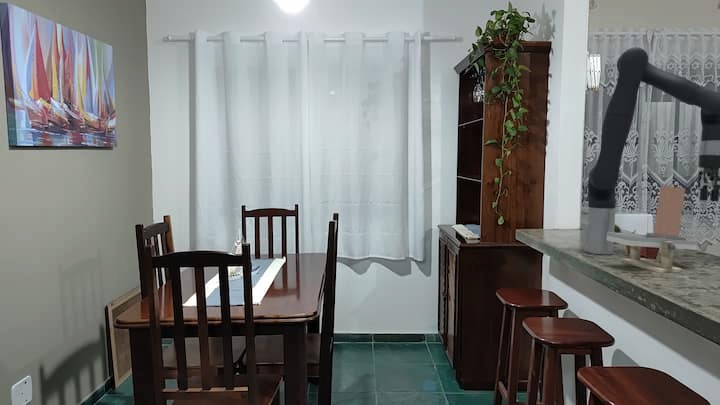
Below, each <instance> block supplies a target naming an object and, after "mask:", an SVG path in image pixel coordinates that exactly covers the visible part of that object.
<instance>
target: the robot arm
mask: <svg viewBox="0 0 720 405" xmlns="http://www.w3.org/2000/svg"><path fill="white" fill-rule="evenodd" d="M616 69H617V71H618V76H617V81H616V86H615V89H614V92H613V94H612V96H611V98H610V99H609V103H608V105H607V108H606V112H605V114H604V119H603V121H602V122H603V123H602V127H601V136H600V138H601V141H600V150H599V151H600V152H599V155H598V158H597V161H596V164H595V166H593V167H592V169H591V170H590V171H589V173H588V181H587V182H588V183H587V201H588V204H587V205H588V207H587V225H586V226H585V227H584V241H583V242H584V244H583V251H584V252H585V253H588V254H589V253H590V254H594V255H613V254H614V249H615V248H614V244H615V242H612V241H607V240H606V239H607V232H614V227H615V225H616V224H615V222H616V205H617V201H616V196H615V194H616V193H615V192H616V188H615V187H616V184H617V183H618V181H619V177H620V169H621V162H622V157H623V152H624V149H625V146H626V144H627V141H628V137H629V134H630V130H631V128H632V124H633V120H634V115H635V110H636V105H637V99H638V93H639V88H640V85H641V82H642V83H644V84H648V86H649V85H650V86H652V87H654V88H655V89H657V90H660V91H662V92H664V93H665V94H667V95H668V96H671V97H673V98H674V99H676V100H679V101H680V102H681V103H684V104H686V105H689V106H696V107H698V108H700V122H701V127H702V128H701V138H700V140H701V141H700V145H699V153H698V168H700V169H703V170H702V171H699V172H698V176H697V185H696V186H697V189H699V190H700V191H699V201H708V196H709V188H710V189H711V190H710V197H709V200H710V201H711V202H718V201H719V199H720V198H719V197H720V92H717V91H714V90H711V89H709V88H706V87H703V86H701V85H699V84H698V83H696V82H694V81H691V80H690V79H688V78H686V77H683V76H681V75H678V74H676V73H672V72H668V71H665V70H663V69H661V68H659V67H656V66H654V65H653V64H652V63H650V62H649V56H648V53H647V51H646V50H645V49H643V48H642V47H638V46H637V47H635V46H634V47H631V48H628V49H627V50H625V51H624V52H623V53H621V55H620V56H619V57H618V59H617V61H616Z"/></svg>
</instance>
